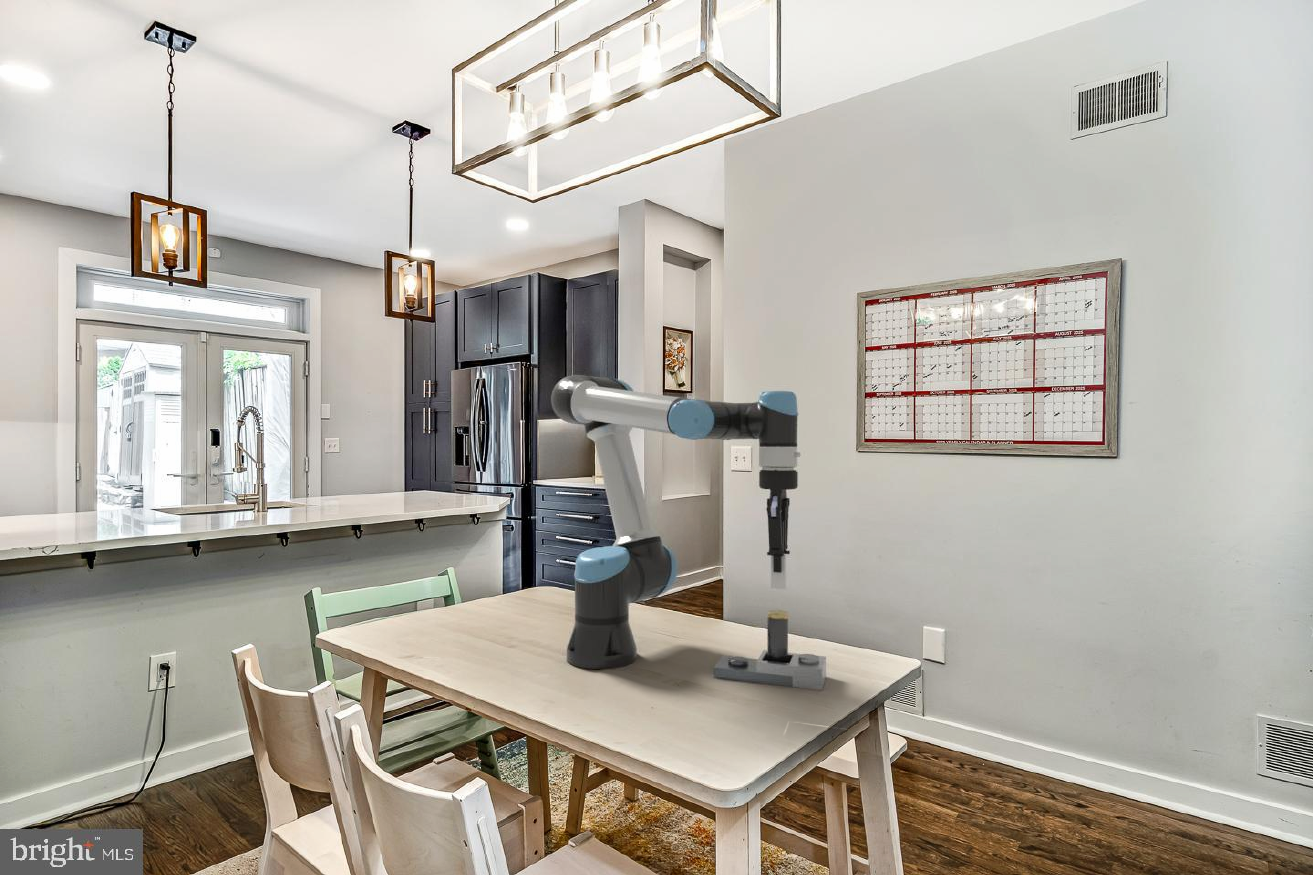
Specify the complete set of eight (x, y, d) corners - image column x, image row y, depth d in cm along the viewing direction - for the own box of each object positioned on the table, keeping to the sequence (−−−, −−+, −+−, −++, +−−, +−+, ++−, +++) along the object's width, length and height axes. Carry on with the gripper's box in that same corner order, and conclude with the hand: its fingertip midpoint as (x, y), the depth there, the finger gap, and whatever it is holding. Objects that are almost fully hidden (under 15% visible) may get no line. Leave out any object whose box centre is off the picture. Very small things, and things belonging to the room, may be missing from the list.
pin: (765, 680, 134) (765, 613, 134) (769, 673, 138) (769, 609, 138) (786, 682, 133) (786, 615, 133) (789, 675, 137) (789, 610, 137)
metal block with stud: (713, 677, 135) (713, 653, 135) (723, 664, 143) (723, 642, 143) (822, 690, 129) (822, 664, 129) (826, 676, 136) (826, 652, 136)
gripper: (792, 470, 128) (793, 596, 128) (801, 468, 140) (801, 582, 140) (753, 469, 131) (753, 593, 130) (765, 467, 143) (765, 580, 143)
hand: (778, 587), depth 135 cm, fingers closed
